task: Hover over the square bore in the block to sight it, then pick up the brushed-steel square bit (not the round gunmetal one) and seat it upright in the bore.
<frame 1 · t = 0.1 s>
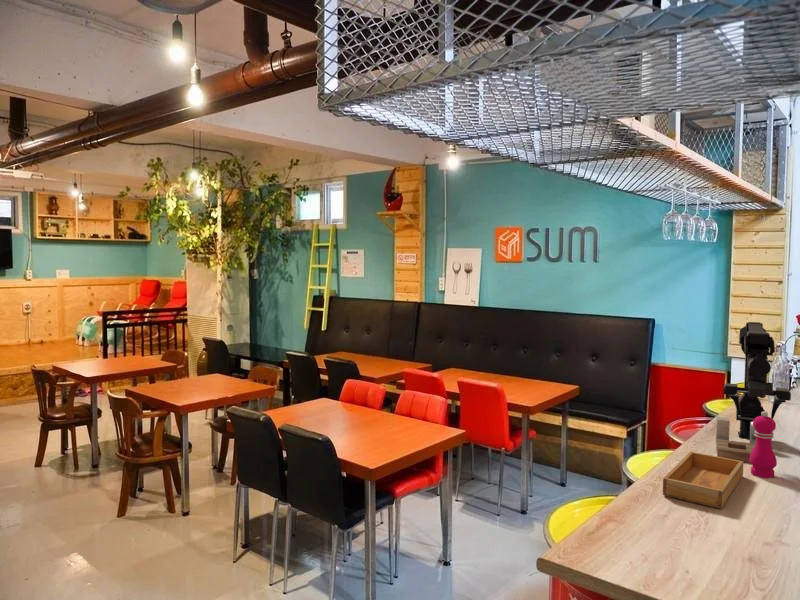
hand: (755, 417, 194), 14 cm above the bar counter, fingers open, 9 cm apart
square bit: (722, 443, 213), on the bar counter
round bit: (756, 447, 208), on the bar counter
bore block: (736, 455, 200), on the bar counter
tray: (704, 488, 174), on the bar counter
pepper mill: (762, 475, 183), on the bar counter
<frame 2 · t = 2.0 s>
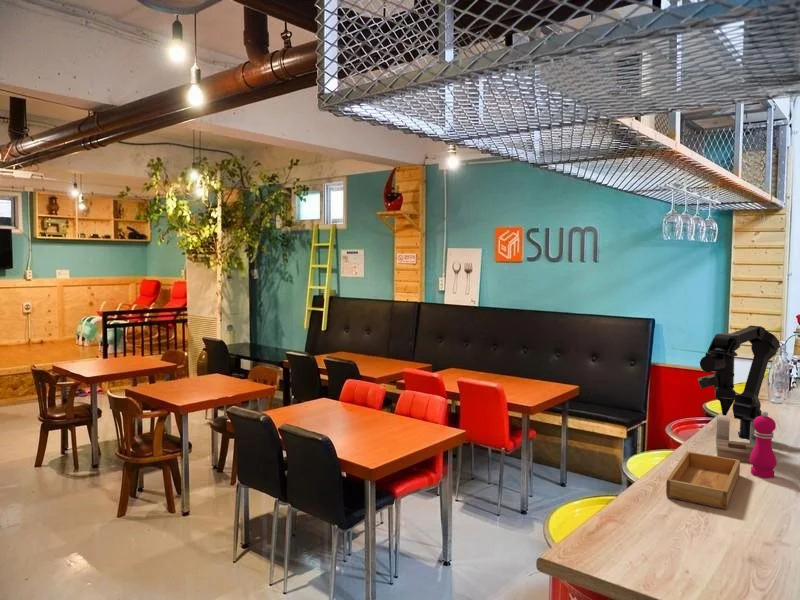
hand: (723, 412, 212), 12 cm above the bar counter, fingers open, 9 cm apart
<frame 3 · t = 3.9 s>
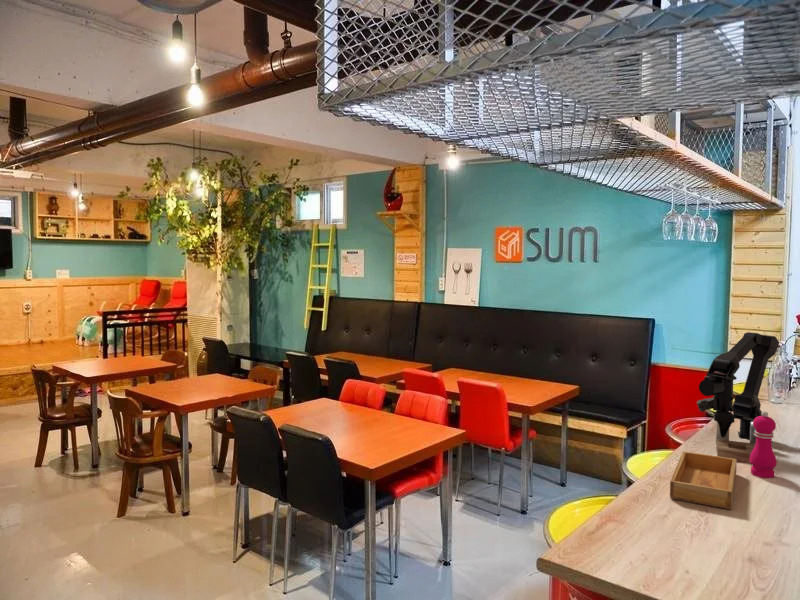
hand: (722, 435, 213), 3 cm above the bar counter, fingers closed on square bit, 4 cm apart
square bit: (722, 443, 213), on the bar counter, touching gripper
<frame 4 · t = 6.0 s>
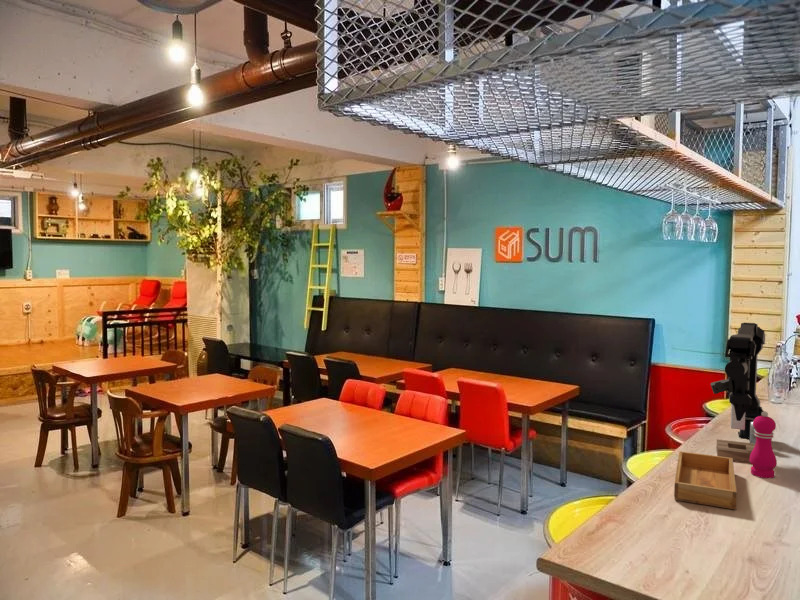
hand: (738, 419, 199), 12 cm above the bar counter, fingers closed on square bit, 4 cm apart
square bit: (737, 427, 200), point 9 cm above the bar counter, touching gripper
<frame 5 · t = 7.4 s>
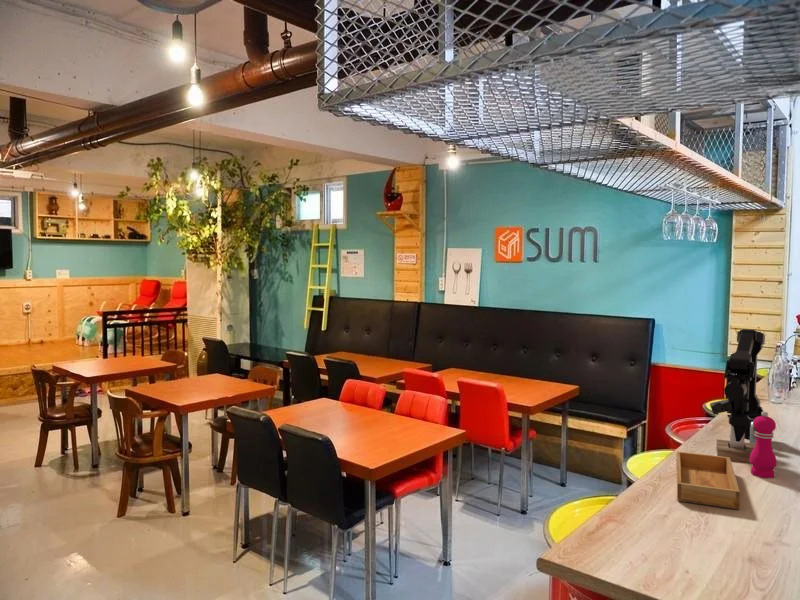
hand: (737, 439, 200), 5 cm above the bar counter, fingers closed on square bit, 4 cm apart
square bit: (736, 448, 200), point 2 cm above the bar counter, touching gripper
when the fingers open (4 cm above the bar counter, at t = 8.4 s): square bit drops 2 cm, resting in bore block.
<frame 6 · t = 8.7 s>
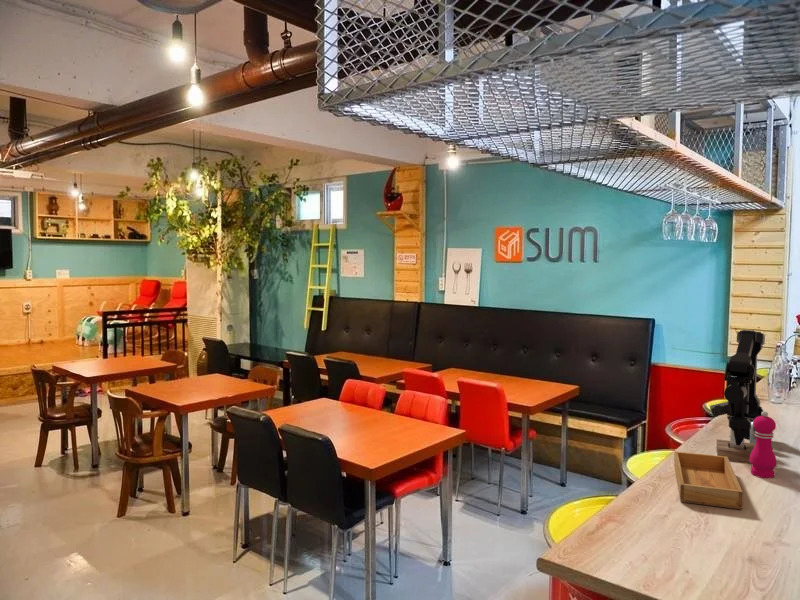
hand: (737, 442, 200), 4 cm above the bar counter, fingers open, 7 cm apart
square bit: (736, 455, 200), resting in bore block
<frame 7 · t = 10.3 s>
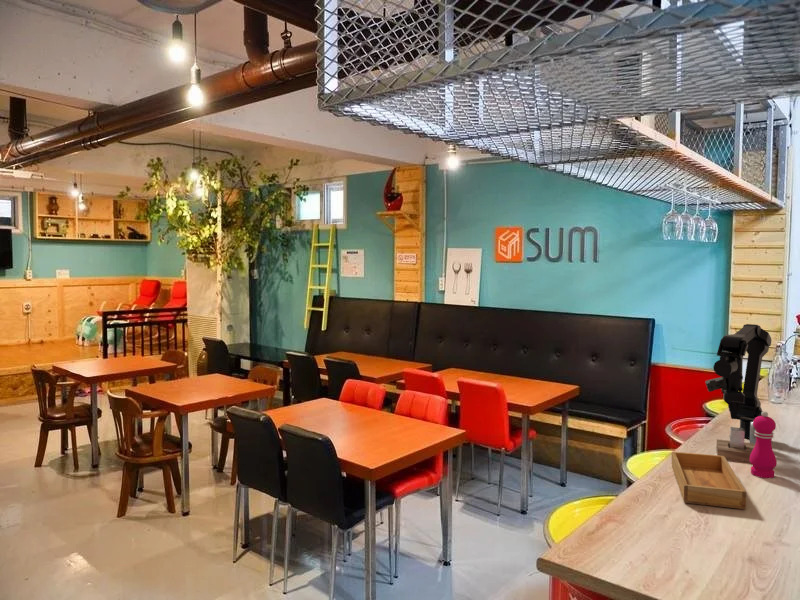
hand: (732, 415, 207), 12 cm above the bar counter, fingers open, 9 cm apart
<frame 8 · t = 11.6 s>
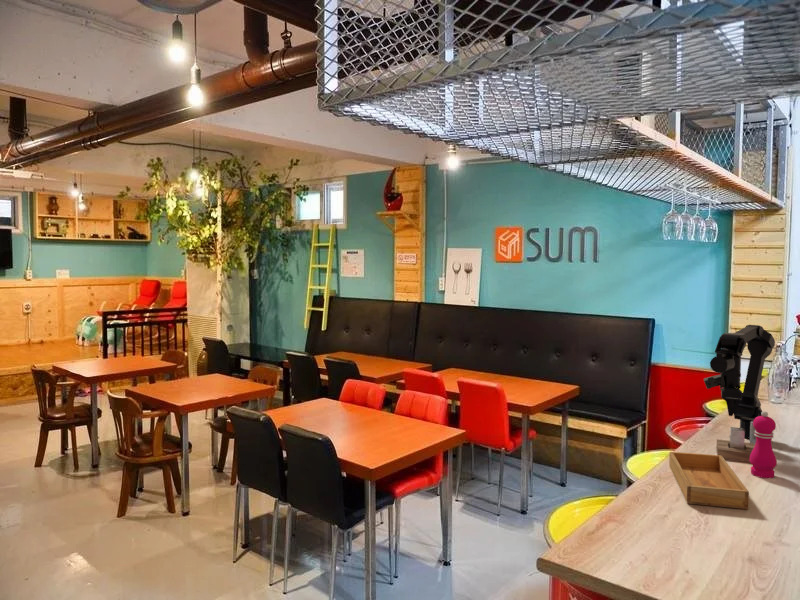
hand: (729, 412, 209), 12 cm above the bar counter, fingers open, 9 cm apart
at the end: square bit 0.1 cm off-centre on the bore block, point 0.0 cm above the bore block's base; square bit tilted 0°; the gripper is holding nothing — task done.
